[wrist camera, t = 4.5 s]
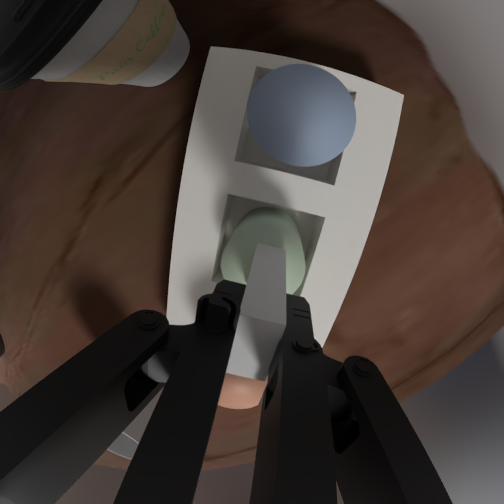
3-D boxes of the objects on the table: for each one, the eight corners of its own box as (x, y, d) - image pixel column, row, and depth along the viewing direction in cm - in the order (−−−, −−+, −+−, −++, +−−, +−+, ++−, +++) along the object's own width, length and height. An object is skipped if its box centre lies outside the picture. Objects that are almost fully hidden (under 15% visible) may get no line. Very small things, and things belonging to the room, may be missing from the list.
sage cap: (229, 260, 20) (214, 293, 16) (242, 199, 19) (229, 217, 14) (290, 274, 20) (292, 311, 16) (307, 215, 19) (316, 238, 14)
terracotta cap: (209, 354, 22) (194, 399, 17) (217, 311, 20) (200, 356, 15) (263, 367, 22) (258, 414, 17) (278, 325, 20) (276, 373, 15)
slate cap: (249, 151, 16) (236, 152, 11) (266, 80, 14) (259, 54, 9) (324, 170, 16) (342, 179, 11) (341, 99, 14) (365, 81, 9)
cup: (126, 341, 27) (82, 405, 18) (187, 381, 28) (160, 452, 19) (109, 373, 30) (74, 427, 20) (161, 406, 31) (136, 465, 22)
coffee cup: (186, 118, 18) (24, 89, 4) (93, 99, 18) (-55, 93, 4) (230, 14, 15) (160, -117, 1) (131, 7, 15) (19, -59, 1)
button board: (178, 333, 26) (165, 360, 22) (223, 63, 17) (210, 46, 13) (298, 361, 25) (299, 391, 22) (382, 103, 16) (403, 95, 13)
